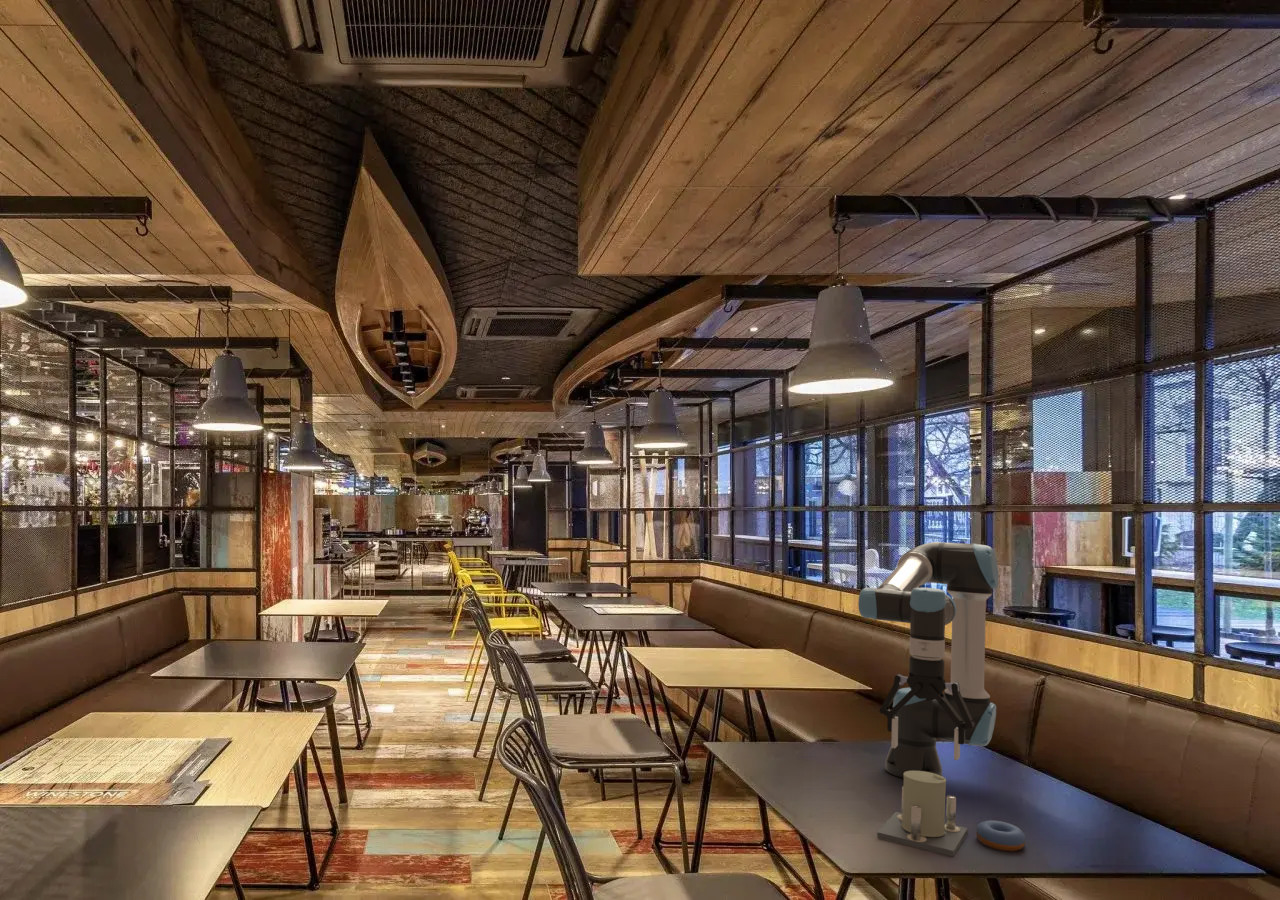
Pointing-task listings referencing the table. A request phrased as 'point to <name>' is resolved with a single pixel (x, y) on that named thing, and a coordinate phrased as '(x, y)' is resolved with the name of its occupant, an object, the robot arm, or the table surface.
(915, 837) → the pins
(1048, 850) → the table surface
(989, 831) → the doughnut
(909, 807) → the can
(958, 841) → the board
